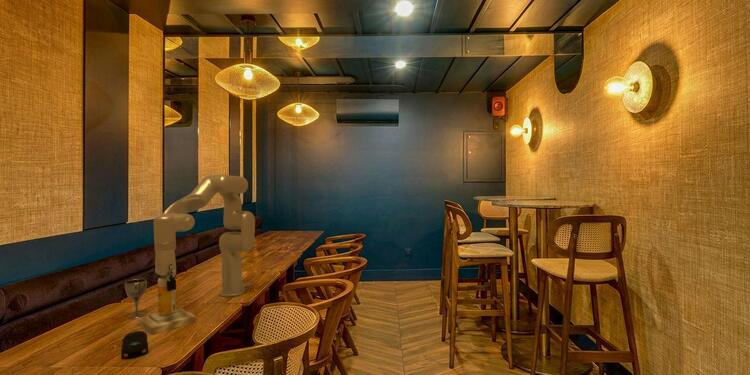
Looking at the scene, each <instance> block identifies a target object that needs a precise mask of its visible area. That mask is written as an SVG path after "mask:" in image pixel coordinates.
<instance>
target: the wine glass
mask: <svg viewBox="0 0 750 375" xmlns="http://www.w3.org/2000/svg"><path fill="white" fill-rule="evenodd" d="M147 284H148V282H147V278H133V279H129V280H127V281H125V282H124V289H125V293H126V295H127V297H128V298H130V299H131V300H132V301H133V303H134V306H135V307H134V308H135V312H133V313H131V314H129V315H127V316H126V318H127V319H137V318H142V317H145V316H146V315H147V313H146V312H145V311H144V312H143V311H142V312H139V311H138V310H139V309H138V307H139V302H140V300H141V299H142V298H143V296H144V295H145V293H146V291H147Z"/></svg>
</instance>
